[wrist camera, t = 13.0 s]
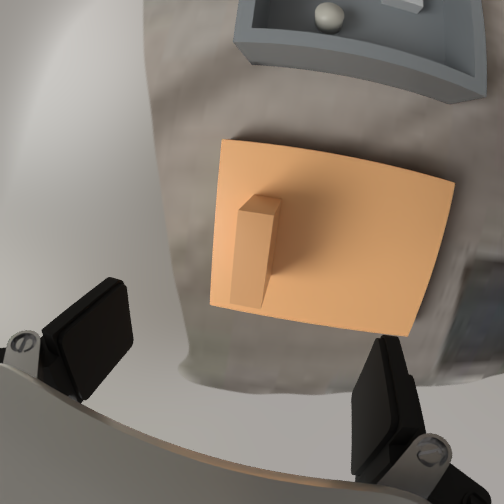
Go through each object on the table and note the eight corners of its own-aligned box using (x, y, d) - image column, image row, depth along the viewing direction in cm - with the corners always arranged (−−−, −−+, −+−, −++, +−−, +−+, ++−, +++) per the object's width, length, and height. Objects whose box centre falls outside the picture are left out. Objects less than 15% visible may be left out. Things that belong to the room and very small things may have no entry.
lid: (443, 178, 20) (488, 196, 14) (401, 322, 25) (422, 374, 18) (230, 139, 22) (196, 139, 16) (217, 292, 27) (189, 339, 21)
